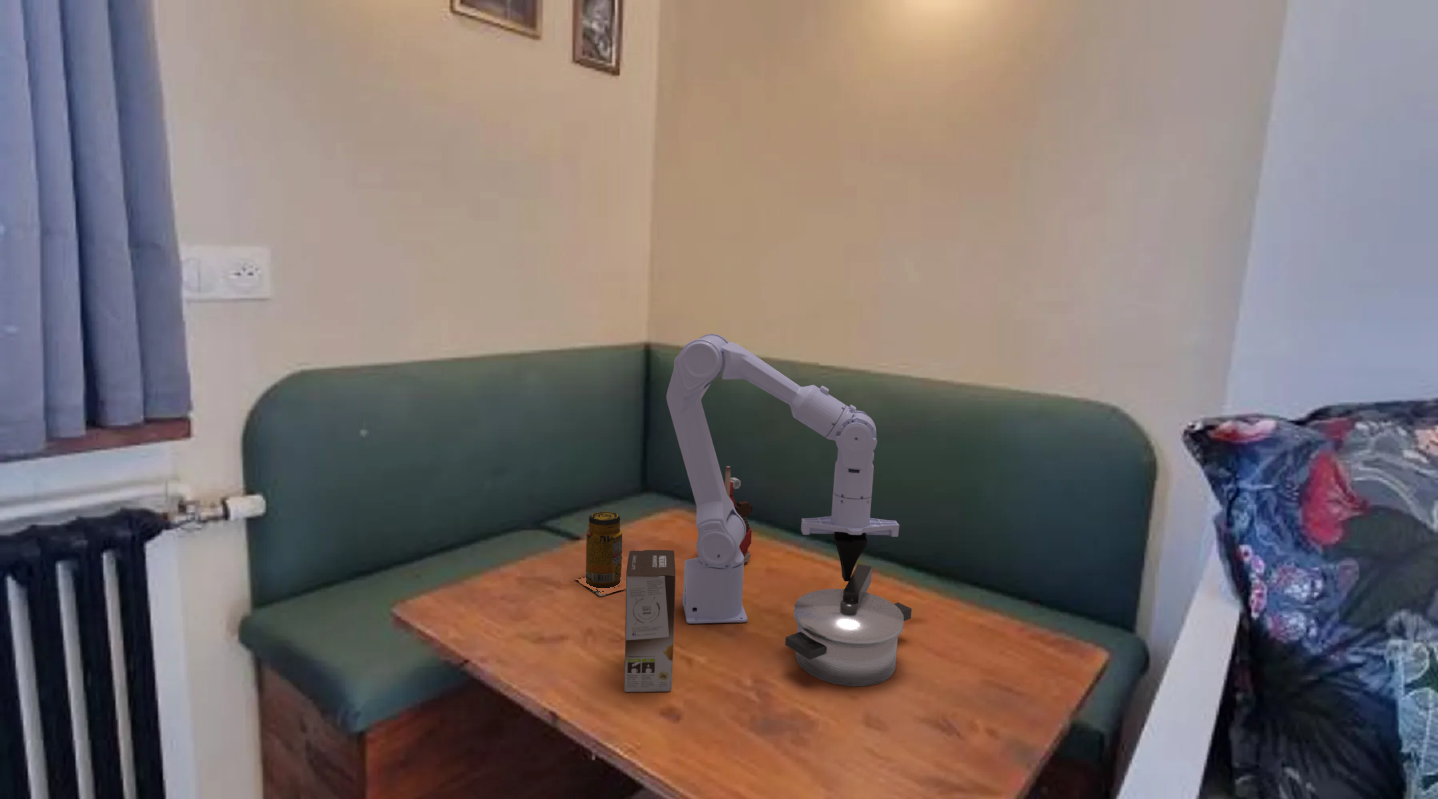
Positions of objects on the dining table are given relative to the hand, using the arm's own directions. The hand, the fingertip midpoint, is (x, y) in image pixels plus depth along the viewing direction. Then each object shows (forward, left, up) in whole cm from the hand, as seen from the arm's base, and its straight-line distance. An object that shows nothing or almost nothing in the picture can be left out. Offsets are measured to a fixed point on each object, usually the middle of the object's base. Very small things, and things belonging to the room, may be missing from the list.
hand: (846, 578), depth 121 cm
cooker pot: (-1, -9, -8) cm, 12 cm away
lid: (-1, -8, -2) cm, 8 cm away
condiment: (-36, +18, -8) cm, 42 cm away
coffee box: (-30, -12, -8) cm, 34 cm away
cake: (-14, +28, -8) cm, 33 cm away
